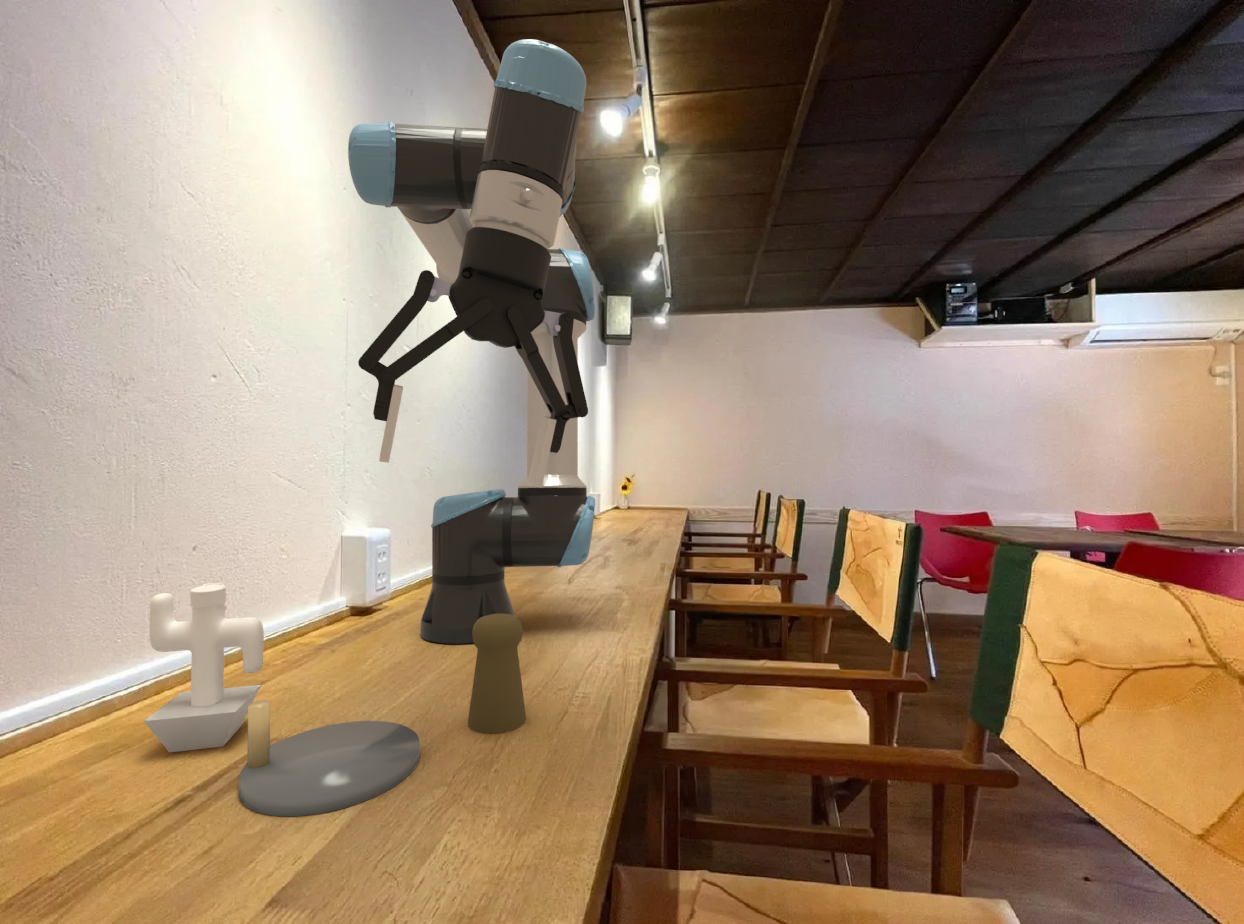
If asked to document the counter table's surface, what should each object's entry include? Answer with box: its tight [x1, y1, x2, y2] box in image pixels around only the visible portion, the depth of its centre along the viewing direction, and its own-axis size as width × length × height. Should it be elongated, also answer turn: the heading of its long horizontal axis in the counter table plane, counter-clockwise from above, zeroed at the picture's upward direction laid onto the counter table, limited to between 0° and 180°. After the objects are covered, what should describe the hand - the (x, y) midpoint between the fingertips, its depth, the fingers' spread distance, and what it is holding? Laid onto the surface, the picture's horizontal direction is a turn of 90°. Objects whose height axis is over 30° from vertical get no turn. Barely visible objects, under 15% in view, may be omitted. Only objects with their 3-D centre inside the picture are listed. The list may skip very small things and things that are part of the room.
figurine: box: [143, 582, 265, 753], centre depth 56 cm, size 7×9×15 cm
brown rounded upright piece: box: [467, 614, 527, 735], centre depth 60 cm, size 6×6×11 cm
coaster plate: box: [238, 700, 421, 817], centre depth 50 cm, size 14×14×6 cm
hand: (463, 472), depth 52 cm, fingers open, 13 cm apart
